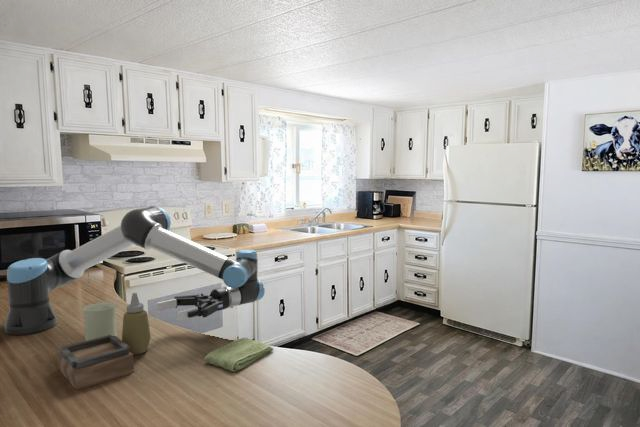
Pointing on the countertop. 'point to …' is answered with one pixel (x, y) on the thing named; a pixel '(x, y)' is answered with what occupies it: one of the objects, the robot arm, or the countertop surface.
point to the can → (99, 320)
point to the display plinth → (95, 361)
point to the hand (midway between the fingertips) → (166, 311)
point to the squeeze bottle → (136, 327)
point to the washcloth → (238, 354)
